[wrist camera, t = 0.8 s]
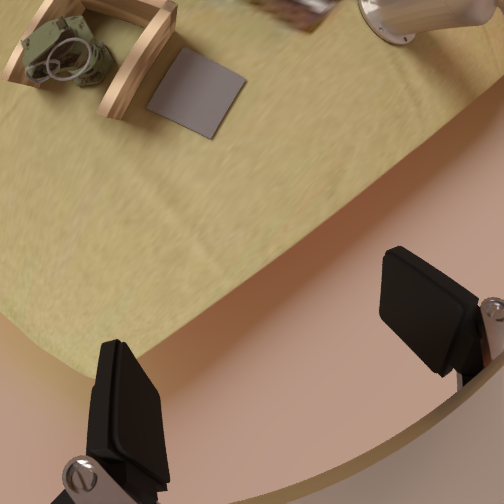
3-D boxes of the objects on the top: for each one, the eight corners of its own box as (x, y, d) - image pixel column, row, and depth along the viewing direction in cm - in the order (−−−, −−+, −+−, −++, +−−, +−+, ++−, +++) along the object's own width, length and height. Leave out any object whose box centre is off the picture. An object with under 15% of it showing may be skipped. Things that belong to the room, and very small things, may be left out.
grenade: (56, 67, 24) (0, 43, 11) (100, 36, 24) (65, -9, 11) (79, 110, 28) (27, 103, 15) (124, 78, 28) (96, 49, 15)
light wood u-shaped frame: (84, 0, 21) (66, -28, 13) (174, 30, 27) (177, 3, 19) (33, 86, 24) (0, 78, 16) (120, 119, 30) (106, 117, 22)
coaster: (183, 48, 28) (183, 46, 28) (245, 79, 32) (246, 79, 32) (146, 108, 30) (146, 108, 30) (210, 138, 34) (210, 139, 34)
